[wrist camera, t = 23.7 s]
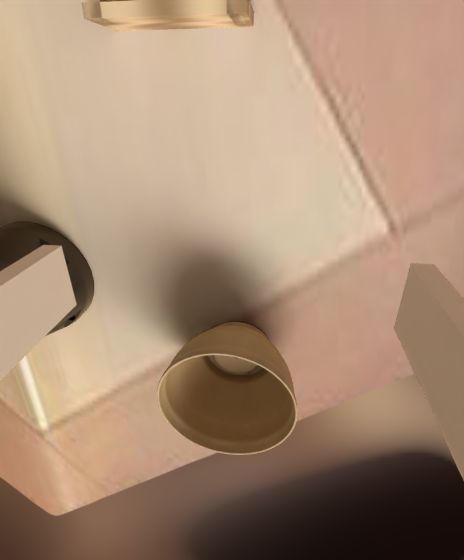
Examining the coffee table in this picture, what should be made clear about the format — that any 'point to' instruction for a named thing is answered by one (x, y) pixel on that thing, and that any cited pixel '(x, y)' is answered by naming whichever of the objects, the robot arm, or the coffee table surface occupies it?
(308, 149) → the coffee table surface
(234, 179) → the coffee table surface
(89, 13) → the shelf bay
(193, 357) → the planter bowl
